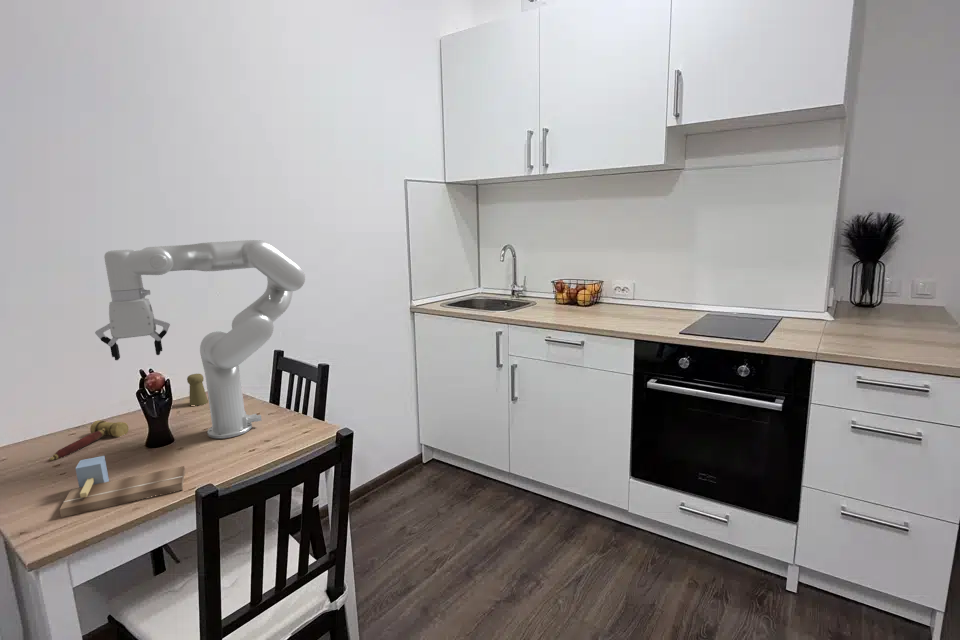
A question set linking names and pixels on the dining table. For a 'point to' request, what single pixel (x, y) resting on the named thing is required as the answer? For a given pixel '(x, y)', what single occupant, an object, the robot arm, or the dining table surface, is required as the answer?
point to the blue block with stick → (91, 473)
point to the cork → (197, 390)
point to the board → (123, 491)
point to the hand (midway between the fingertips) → (138, 356)
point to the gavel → (94, 436)
